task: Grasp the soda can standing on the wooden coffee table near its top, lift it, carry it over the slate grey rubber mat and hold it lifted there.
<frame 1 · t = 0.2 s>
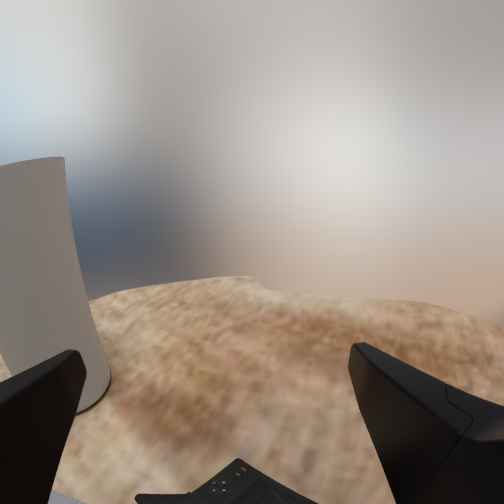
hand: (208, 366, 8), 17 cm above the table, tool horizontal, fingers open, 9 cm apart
cylinder vase: (67, 385, 27), on the table
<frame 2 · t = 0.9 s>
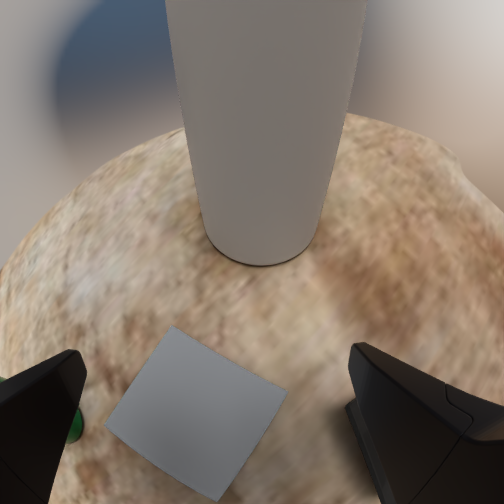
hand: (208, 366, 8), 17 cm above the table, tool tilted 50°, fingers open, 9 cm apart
cylinder vase: (260, 220, 33), on the table
handheld gaming console: (389, 436, 21), on the table
slate mat: (192, 415, 22), on the table
soda can: (66, 420, 21), on the table
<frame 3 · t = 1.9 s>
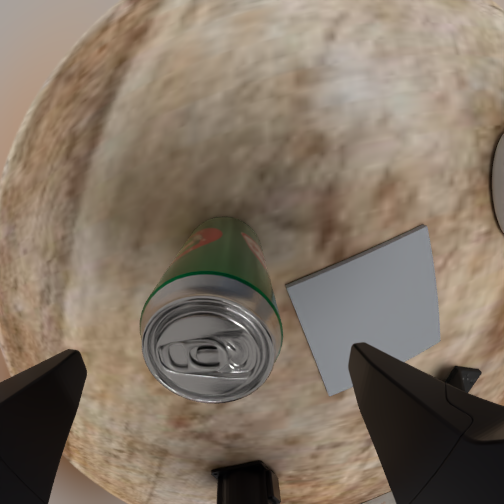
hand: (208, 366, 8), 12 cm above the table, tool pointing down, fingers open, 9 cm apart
handheld gaming console: (434, 399, 27), on the table
small box: (378, 499, 35), on the table
slate mat: (376, 317, 22), on the table
soda can: (224, 250, 20), on the table
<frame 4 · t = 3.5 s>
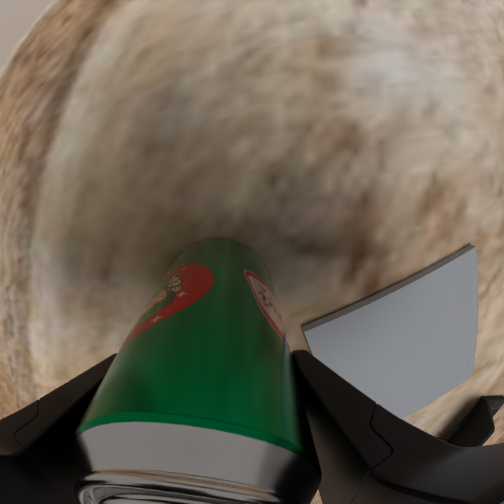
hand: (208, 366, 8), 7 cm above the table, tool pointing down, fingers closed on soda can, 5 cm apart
handheld gaming console: (456, 430, 21), on the table
slate mat: (408, 357, 17), on the table
soda can: (220, 283, 15), on the table, touching gripper
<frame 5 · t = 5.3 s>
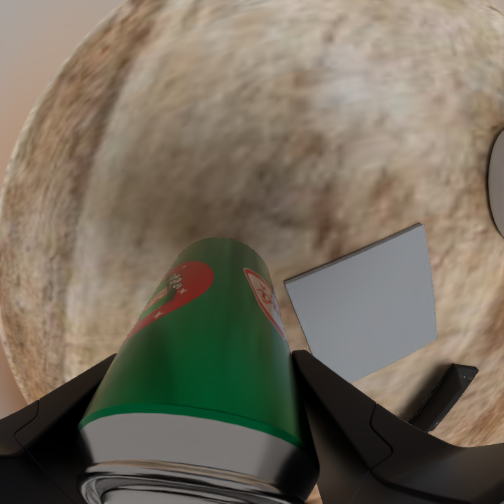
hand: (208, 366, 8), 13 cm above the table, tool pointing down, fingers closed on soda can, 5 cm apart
handheld gaming console: (432, 397, 28), on the table
slate mat: (373, 314, 23), on the table
soda can: (220, 281, 15), point 6 cm above the table, touching gripper
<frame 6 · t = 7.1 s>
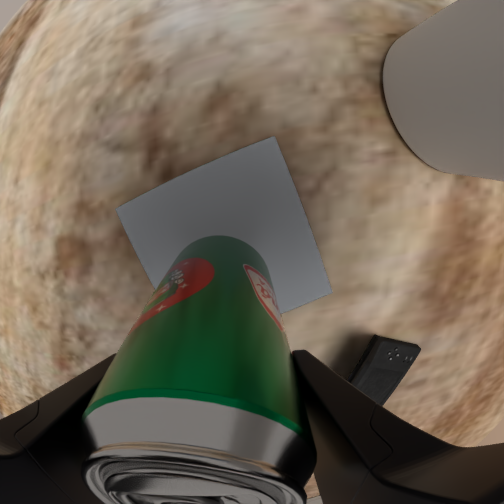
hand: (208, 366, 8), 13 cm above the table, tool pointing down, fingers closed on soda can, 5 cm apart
cylinder vase: (440, 101, 18), on the table
handheld gaming console: (356, 379, 25), on the table
small box: (321, 499, 33), on the table
slate mat: (226, 249, 21), on the table
soda can: (220, 279, 15), point 6 cm above the table, touching gripper
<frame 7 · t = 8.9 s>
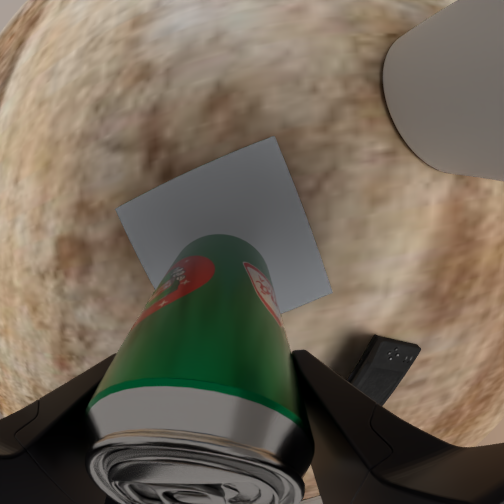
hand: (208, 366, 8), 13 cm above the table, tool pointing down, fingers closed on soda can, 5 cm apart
cylinder vase: (440, 101, 18), on the table
handheld gaming console: (356, 379, 25), on the table
small box: (321, 499, 33), on the table
slate mat: (226, 249, 21), on the table
soda can: (220, 277, 16), point 5 cm above the table, touching gripper
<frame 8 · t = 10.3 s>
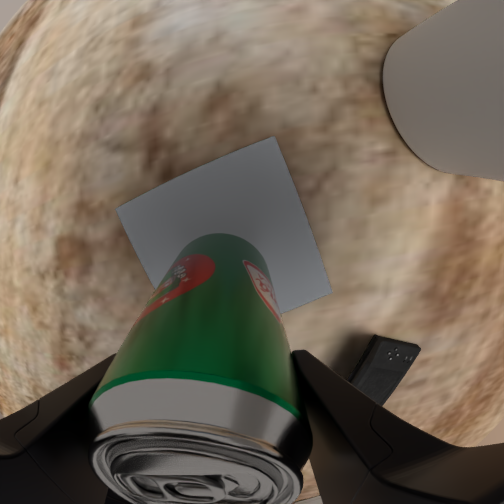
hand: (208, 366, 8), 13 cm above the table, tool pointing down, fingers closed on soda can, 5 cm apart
cylinder vase: (440, 101, 18), on the table
handheld gaming console: (356, 379, 25), on the table
small box: (321, 499, 33), on the table
slate mat: (226, 249, 21), on the table
soda can: (221, 275, 16), point 5 cm above the table, touching gripper
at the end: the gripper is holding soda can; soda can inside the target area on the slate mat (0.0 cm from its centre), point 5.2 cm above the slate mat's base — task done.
